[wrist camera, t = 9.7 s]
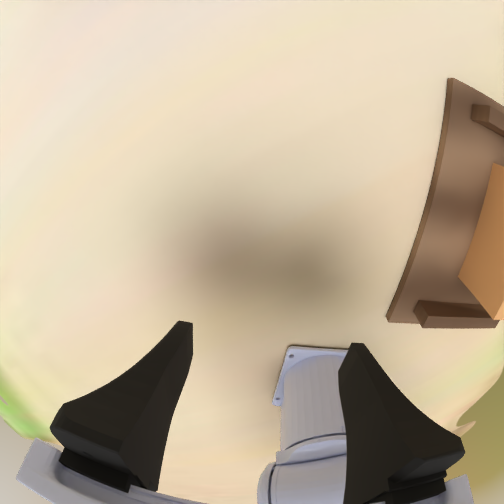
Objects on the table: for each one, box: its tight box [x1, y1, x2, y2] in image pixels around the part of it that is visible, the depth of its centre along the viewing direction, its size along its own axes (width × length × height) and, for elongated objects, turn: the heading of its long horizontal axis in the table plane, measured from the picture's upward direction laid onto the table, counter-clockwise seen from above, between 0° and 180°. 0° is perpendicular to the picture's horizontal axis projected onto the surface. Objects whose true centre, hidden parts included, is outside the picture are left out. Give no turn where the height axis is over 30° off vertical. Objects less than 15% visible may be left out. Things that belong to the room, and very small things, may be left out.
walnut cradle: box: [386, 78, 504, 328], centre depth 17 cm, size 20×14×3 cm
